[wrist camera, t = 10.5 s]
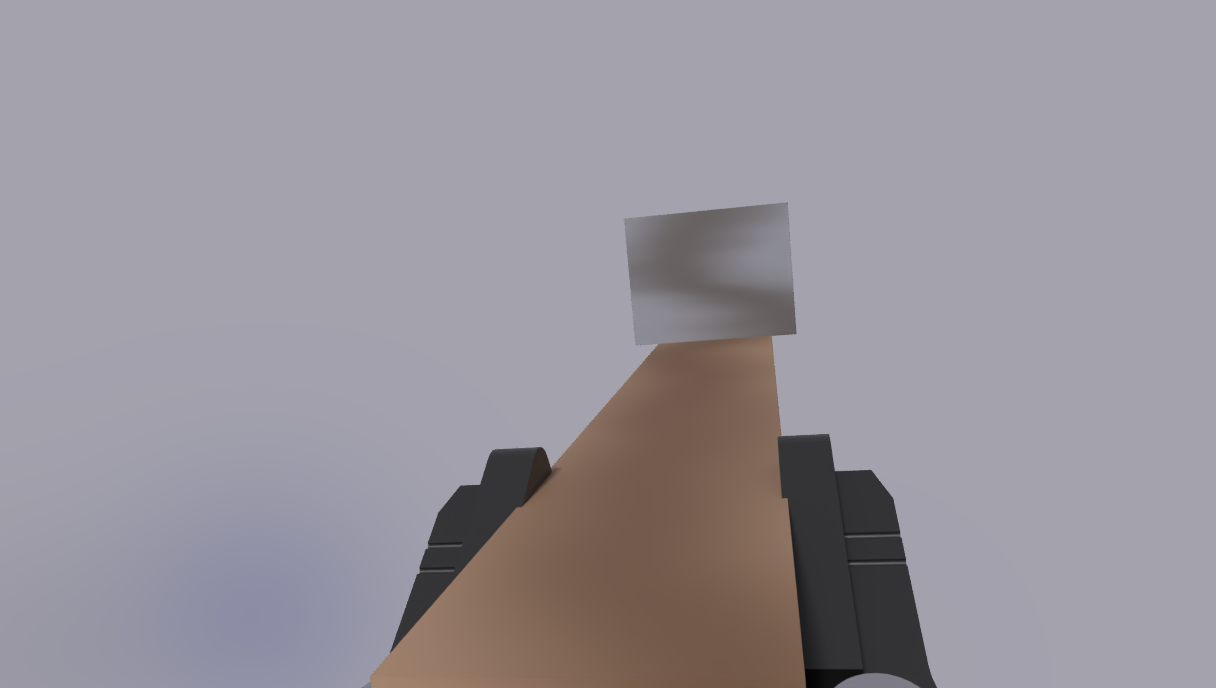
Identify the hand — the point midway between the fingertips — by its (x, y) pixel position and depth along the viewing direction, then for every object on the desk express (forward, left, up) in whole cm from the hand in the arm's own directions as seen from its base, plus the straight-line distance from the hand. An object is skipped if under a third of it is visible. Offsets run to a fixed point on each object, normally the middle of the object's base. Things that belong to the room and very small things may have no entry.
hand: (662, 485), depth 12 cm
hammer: (0, -7, -3) cm, 7 cm away
